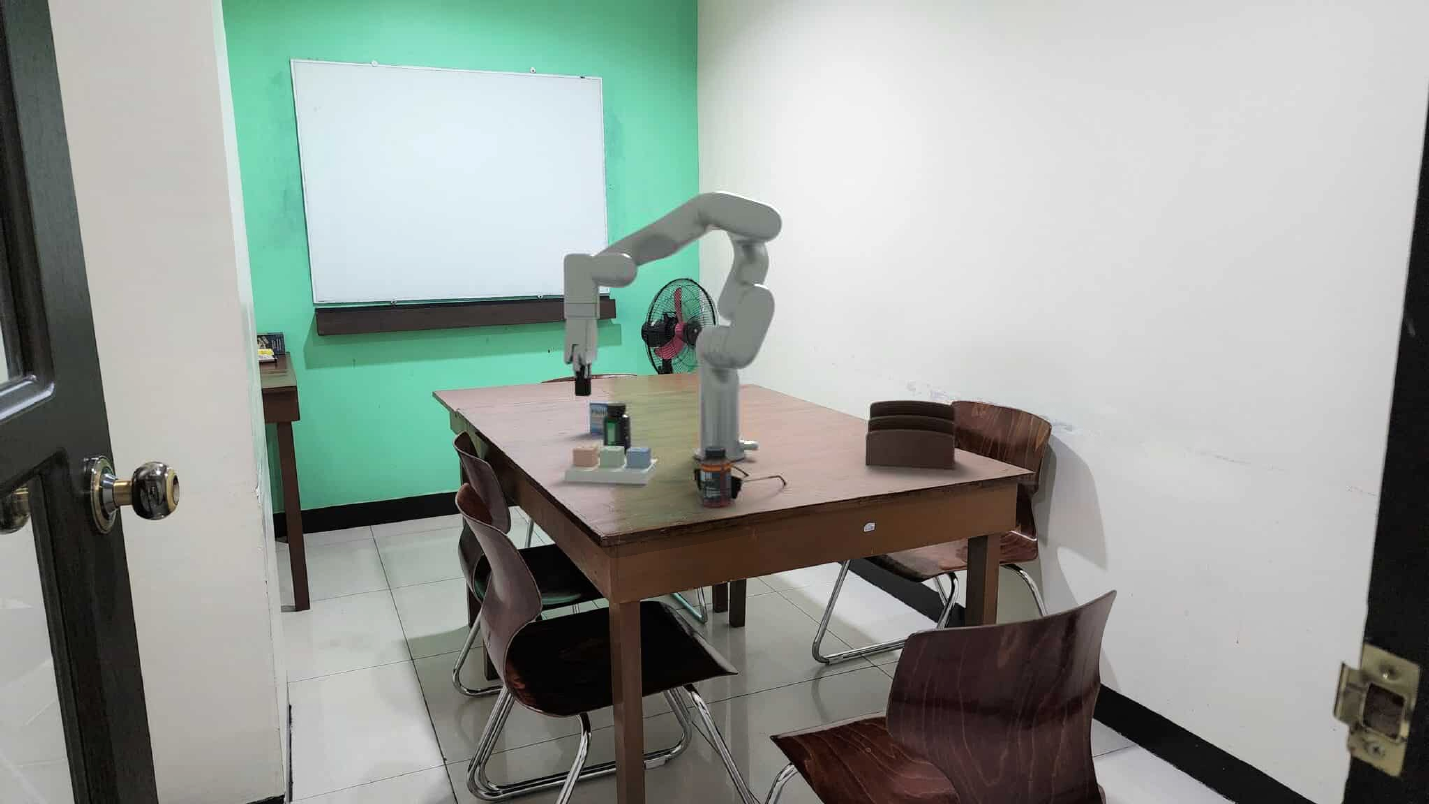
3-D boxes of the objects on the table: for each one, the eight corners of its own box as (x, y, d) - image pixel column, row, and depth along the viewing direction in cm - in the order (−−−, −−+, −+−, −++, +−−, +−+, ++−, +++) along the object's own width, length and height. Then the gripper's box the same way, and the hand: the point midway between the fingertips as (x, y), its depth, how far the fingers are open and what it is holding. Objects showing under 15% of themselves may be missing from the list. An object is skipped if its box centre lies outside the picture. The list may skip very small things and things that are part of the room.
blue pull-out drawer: (650, 464, 192) (650, 446, 191) (646, 469, 187) (646, 450, 187) (631, 464, 192) (631, 445, 192) (626, 468, 188) (626, 450, 187)
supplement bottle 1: (613, 456, 210) (611, 407, 208) (598, 451, 215) (596, 404, 213) (636, 452, 214) (635, 404, 212) (621, 447, 219) (620, 400, 217)
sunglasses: (691, 490, 180) (692, 467, 180) (743, 480, 192) (744, 458, 191) (740, 503, 171) (741, 478, 170) (791, 491, 182) (793, 468, 182)
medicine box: (589, 434, 236) (588, 402, 235) (596, 430, 240) (595, 400, 239) (616, 435, 234) (615, 404, 232) (622, 432, 238) (621, 401, 237)
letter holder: (868, 455, 209) (870, 398, 206) (954, 460, 204) (956, 401, 201) (864, 465, 199) (866, 405, 197) (954, 470, 194) (956, 408, 192)
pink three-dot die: (598, 463, 194) (597, 444, 193) (592, 468, 189) (592, 449, 189) (579, 462, 194) (578, 444, 193) (573, 467, 190) (572, 448, 189)
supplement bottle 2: (730, 499, 172) (730, 444, 170) (732, 508, 166) (732, 450, 164) (700, 500, 172) (700, 444, 170) (701, 508, 166) (700, 451, 164)
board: (658, 470, 196) (658, 459, 195) (646, 484, 184) (646, 472, 184) (581, 467, 198) (581, 457, 198) (564, 481, 187) (564, 470, 186)
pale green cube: (624, 463, 193) (624, 445, 192) (619, 468, 188) (619, 449, 188) (605, 463, 193) (604, 445, 193) (599, 468, 189) (599, 449, 188)
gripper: (575, 309, 194) (577, 390, 197) (553, 313, 179) (555, 400, 182) (608, 310, 193) (609, 391, 196) (588, 313, 178) (589, 401, 181)
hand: (583, 395), depth 189 cm, fingers closed
